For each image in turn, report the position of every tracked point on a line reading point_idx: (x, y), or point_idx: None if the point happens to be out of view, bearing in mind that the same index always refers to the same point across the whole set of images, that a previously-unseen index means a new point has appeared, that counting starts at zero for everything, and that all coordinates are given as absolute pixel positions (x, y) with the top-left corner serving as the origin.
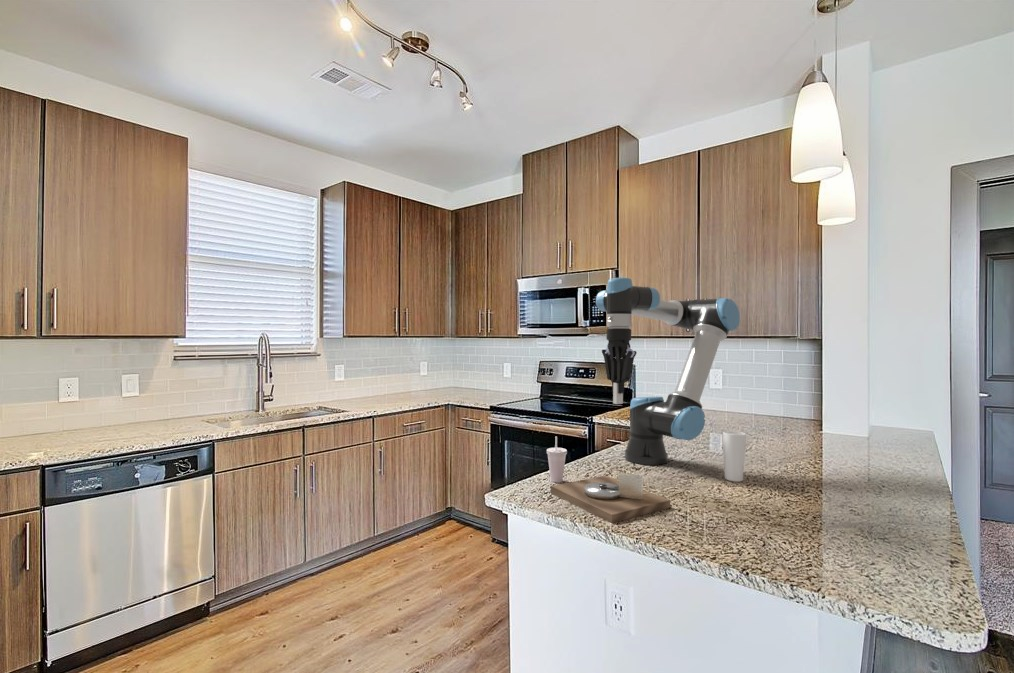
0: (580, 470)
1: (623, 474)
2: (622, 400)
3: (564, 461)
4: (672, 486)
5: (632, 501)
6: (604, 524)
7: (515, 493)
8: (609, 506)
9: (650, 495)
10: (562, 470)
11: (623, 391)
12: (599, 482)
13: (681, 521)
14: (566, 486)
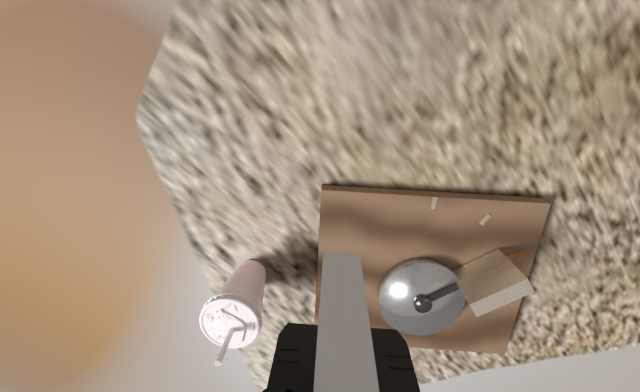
0: (206, 166)
1: (485, 309)
2: (361, 272)
3: (258, 295)
4: (461, 49)
5: None
6: (491, 353)
7: None
8: (475, 329)
9: (499, 216)
10: (263, 286)
11: (405, 352)
12: (389, 281)
13: (594, 241)
14: None
